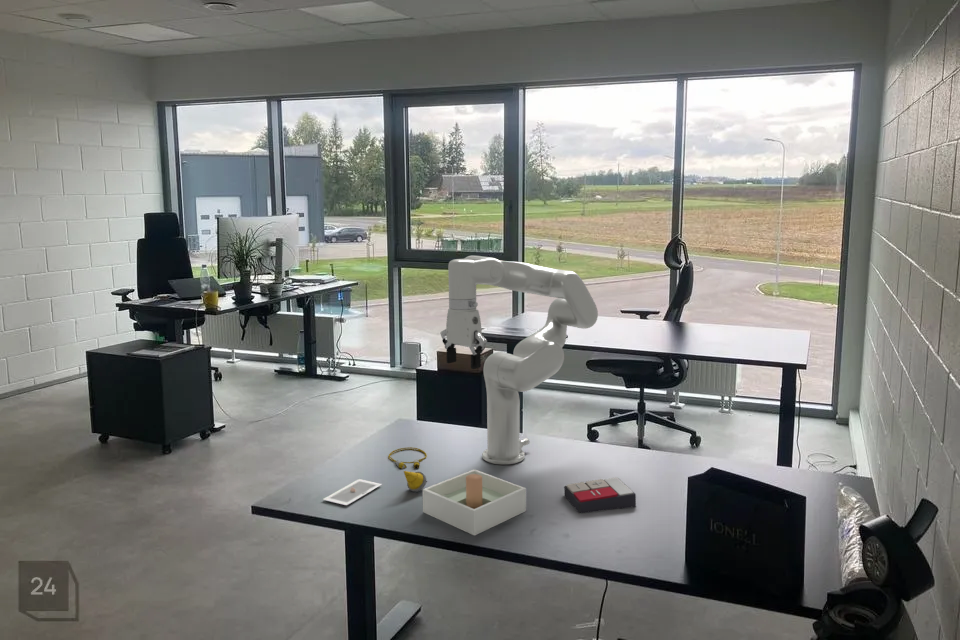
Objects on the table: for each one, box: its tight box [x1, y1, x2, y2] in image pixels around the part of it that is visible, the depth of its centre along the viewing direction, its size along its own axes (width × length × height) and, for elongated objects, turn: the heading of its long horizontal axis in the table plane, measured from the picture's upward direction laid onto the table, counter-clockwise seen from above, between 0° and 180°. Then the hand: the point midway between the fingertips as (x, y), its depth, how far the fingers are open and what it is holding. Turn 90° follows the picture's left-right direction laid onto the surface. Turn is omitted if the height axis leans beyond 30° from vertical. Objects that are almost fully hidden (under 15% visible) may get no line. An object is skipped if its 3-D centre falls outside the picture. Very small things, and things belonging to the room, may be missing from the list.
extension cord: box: [387, 447, 428, 469], centre depth 218 cm, size 12×16×2 cm
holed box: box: [422, 469, 527, 536], centre depth 181 cm, size 18×18×6 cm
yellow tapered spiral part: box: [403, 470, 428, 493], centre depth 194 cm, size 5×5×10 cm
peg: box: [466, 474, 483, 509], centre depth 181 cm, size 4×4×9 cm
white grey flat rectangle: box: [322, 478, 383, 506], centre depth 193 cm, size 8×15×2 cm, turn 151°
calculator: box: [563, 477, 637, 514], centre depth 187 cm, size 11×4×15 cm
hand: (463, 365), depth 204 cm, fingers open, 9 cm apart
